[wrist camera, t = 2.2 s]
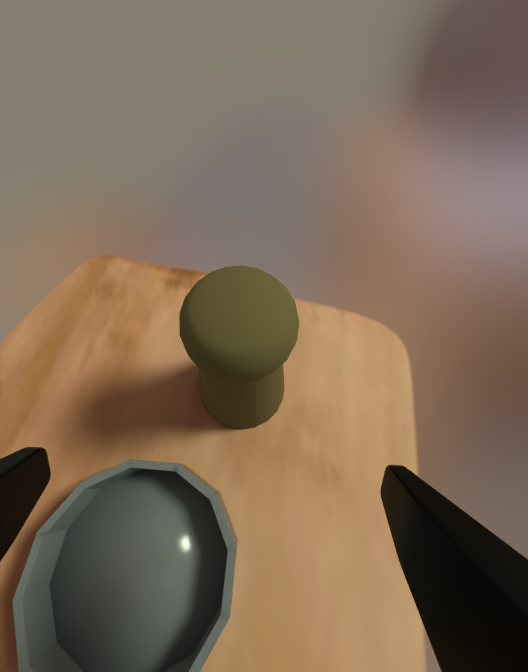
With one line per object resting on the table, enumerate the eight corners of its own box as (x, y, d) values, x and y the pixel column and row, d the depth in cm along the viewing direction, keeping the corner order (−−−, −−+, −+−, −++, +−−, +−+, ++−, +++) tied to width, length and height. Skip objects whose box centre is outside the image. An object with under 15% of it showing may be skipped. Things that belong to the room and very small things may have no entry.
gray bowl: (264, 614, 16) (267, 636, 13) (65, 744, 13) (29, 797, 11) (199, 436, 20) (193, 430, 17) (36, 513, 17) (4, 517, 15)
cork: (182, 393, 21) (125, 312, 11) (236, 333, 23) (228, 223, 13) (250, 448, 19) (253, 410, 10) (300, 378, 22) (343, 292, 12)
